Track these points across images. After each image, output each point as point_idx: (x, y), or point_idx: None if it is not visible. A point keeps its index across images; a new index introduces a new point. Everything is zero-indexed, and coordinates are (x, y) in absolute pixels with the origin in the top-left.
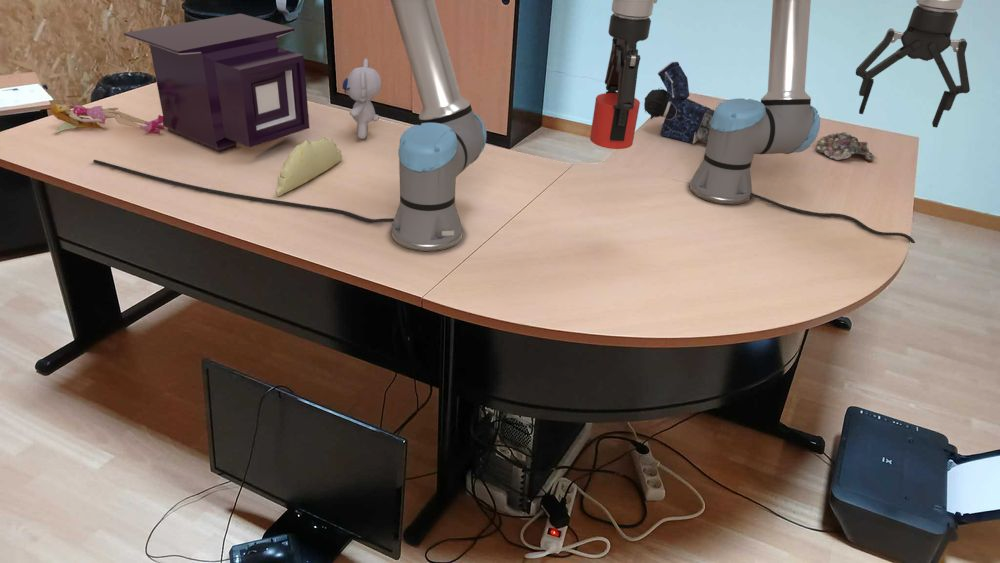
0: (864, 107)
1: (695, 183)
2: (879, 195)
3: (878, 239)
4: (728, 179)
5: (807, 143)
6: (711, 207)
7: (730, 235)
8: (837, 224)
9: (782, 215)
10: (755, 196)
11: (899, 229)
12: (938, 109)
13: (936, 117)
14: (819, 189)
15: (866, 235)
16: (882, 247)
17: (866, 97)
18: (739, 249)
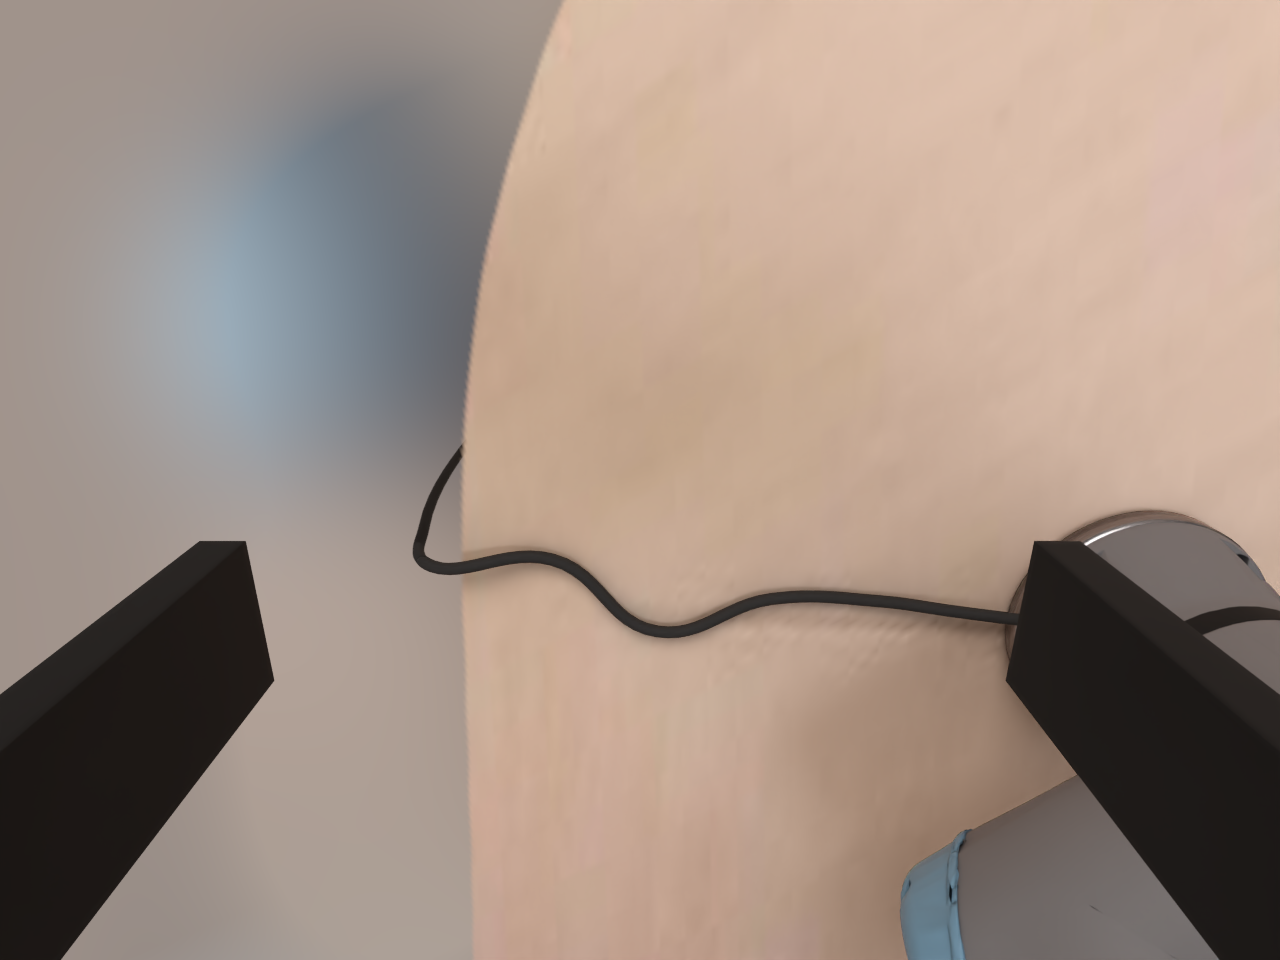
0: (1092, 580)
1: (1263, 577)
2: (553, 860)
3: (539, 522)
4: (1183, 580)
5: (930, 881)
6: (1163, 469)
7: (1100, 250)
8: (684, 569)
9: (884, 541)
10: (1000, 612)
11: (474, 639)
12: (142, 733)
13: (178, 601)
14: (751, 811)
15: (581, 532)
16: (522, 463)
17: (1208, 659)
18: (1069, 133)
